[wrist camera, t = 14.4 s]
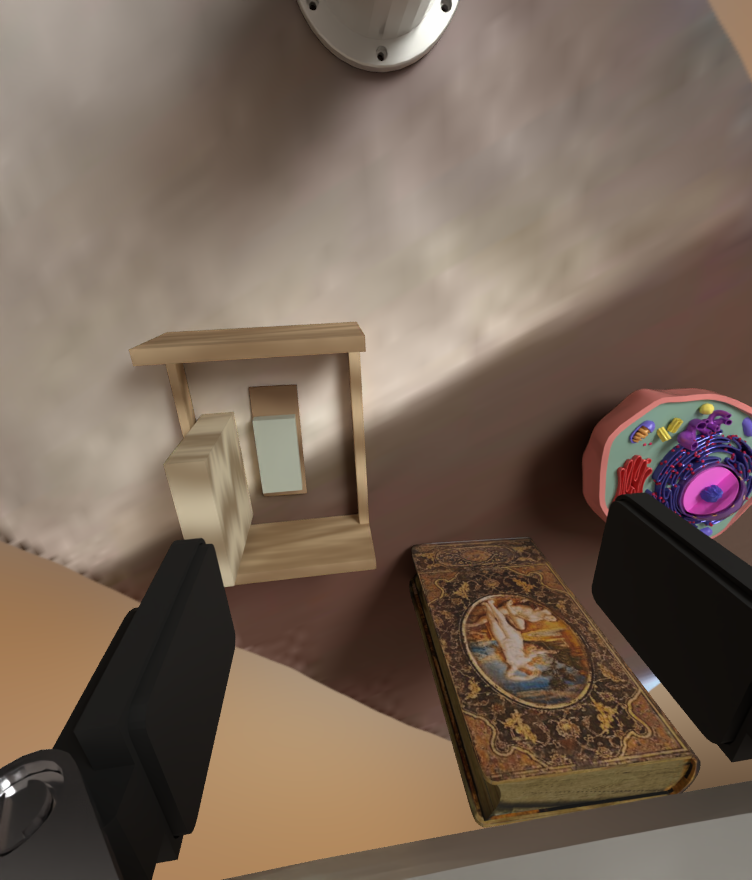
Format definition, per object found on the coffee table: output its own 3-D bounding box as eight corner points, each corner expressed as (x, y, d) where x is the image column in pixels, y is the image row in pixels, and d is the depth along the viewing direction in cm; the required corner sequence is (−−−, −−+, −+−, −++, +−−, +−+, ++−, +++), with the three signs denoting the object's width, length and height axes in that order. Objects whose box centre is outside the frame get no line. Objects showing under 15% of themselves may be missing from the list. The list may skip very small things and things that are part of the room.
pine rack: (166, 332, 37) (128, 349, 30) (356, 321, 39) (364, 335, 31) (214, 537, 46) (194, 589, 39) (367, 521, 48) (376, 568, 40)
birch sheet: (202, 414, 40) (163, 464, 30) (233, 412, 41) (205, 460, 31) (225, 517, 45) (198, 590, 35) (253, 514, 46) (234, 585, 36)
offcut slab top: (253, 416, 41) (252, 421, 40) (295, 414, 41) (294, 418, 40) (264, 487, 44) (262, 493, 43) (302, 484, 44) (302, 489, 43)
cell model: (633, 331, 43) (733, 353, 32) (731, 433, 49) (841, 478, 39) (520, 454, 47) (577, 509, 36) (625, 533, 53) (698, 598, 43)
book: (537, 536, 52) (709, 752, 29) (530, 571, 54) (685, 798, 31) (408, 544, 50) (483, 783, 27) (406, 580, 52) (474, 829, 29)
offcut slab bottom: (250, 384, 41) (248, 388, 40) (296, 382, 41) (296, 385, 40) (265, 490, 45) (264, 496, 44) (306, 487, 46) (306, 493, 45)
